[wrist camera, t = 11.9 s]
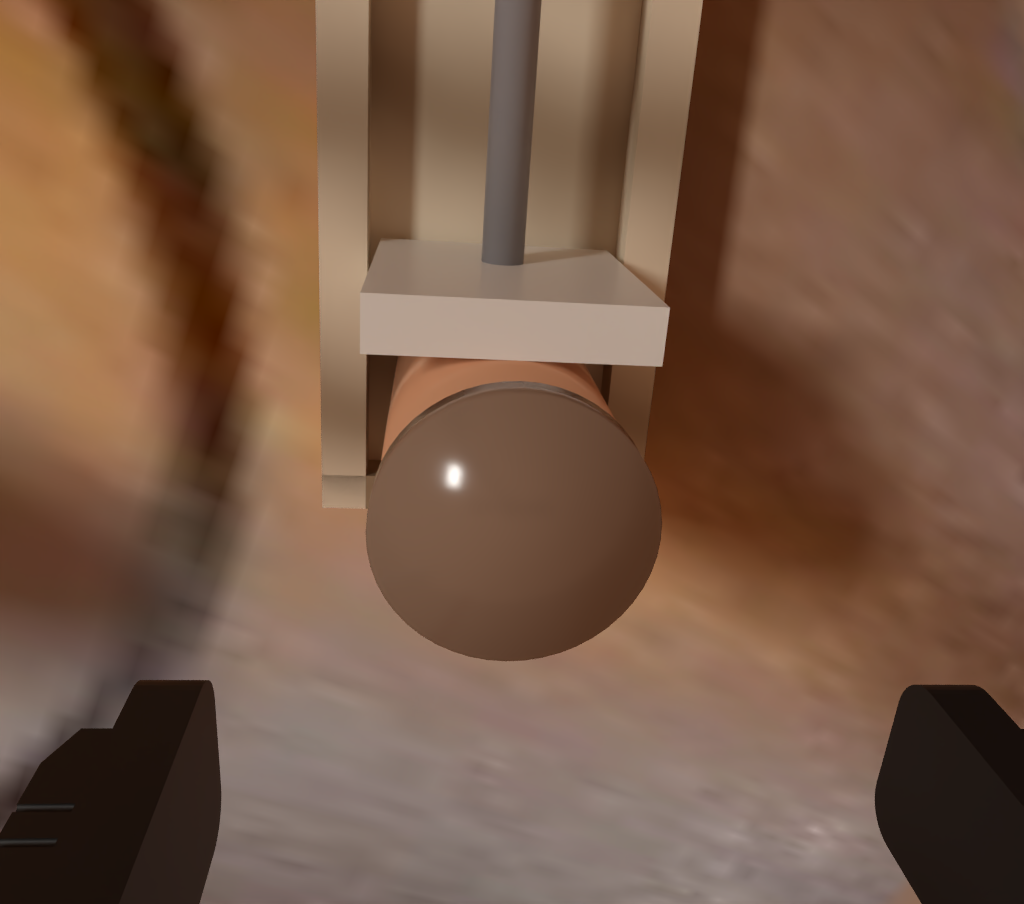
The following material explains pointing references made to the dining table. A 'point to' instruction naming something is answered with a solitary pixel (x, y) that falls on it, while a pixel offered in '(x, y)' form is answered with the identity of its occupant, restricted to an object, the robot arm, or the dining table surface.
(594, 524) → the jar
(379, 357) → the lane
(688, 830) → the dining table surface
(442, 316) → the pusher
